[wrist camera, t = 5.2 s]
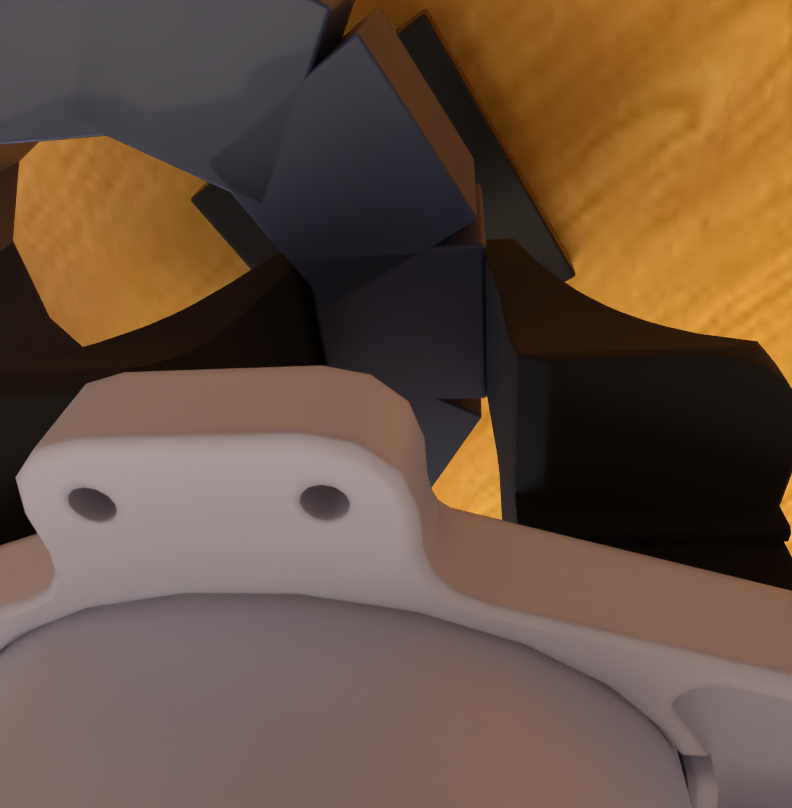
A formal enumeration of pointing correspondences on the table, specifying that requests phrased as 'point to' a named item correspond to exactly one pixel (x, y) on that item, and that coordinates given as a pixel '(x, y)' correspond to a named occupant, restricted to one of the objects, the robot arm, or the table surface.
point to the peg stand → (494, 166)
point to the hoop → (274, 171)
